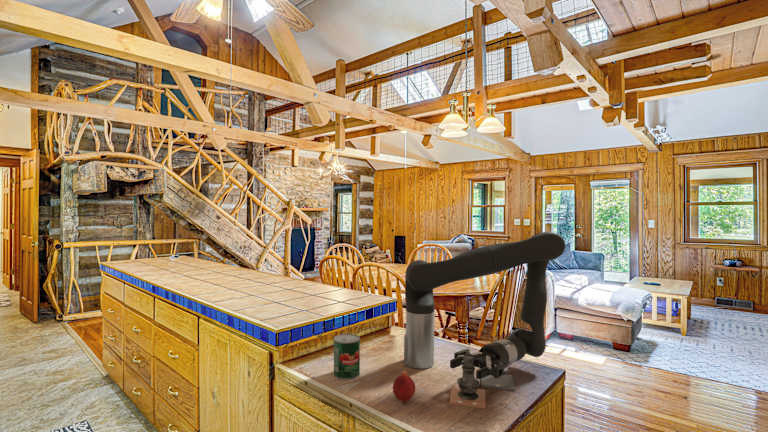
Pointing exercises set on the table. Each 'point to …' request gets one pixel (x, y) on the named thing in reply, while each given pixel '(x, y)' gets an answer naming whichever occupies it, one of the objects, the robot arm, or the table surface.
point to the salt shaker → (468, 379)
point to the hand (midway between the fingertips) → (463, 369)
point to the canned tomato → (346, 356)
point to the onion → (403, 387)
